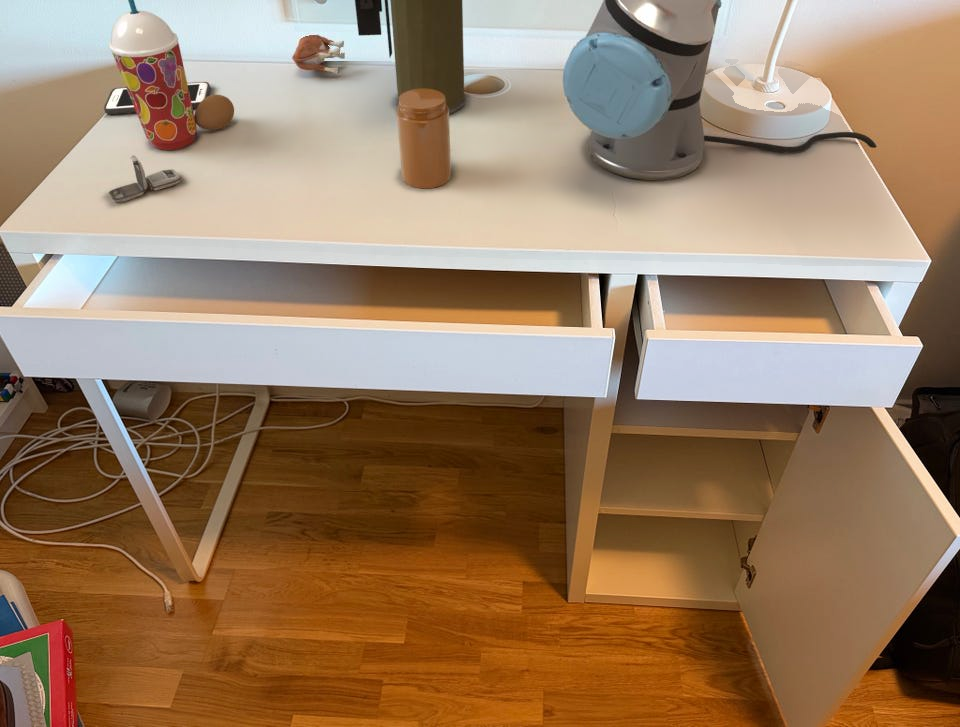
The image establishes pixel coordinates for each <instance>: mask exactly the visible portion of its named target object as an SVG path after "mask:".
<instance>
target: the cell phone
mask: <svg viewBox="0 0 960 727" xmlns="http://www.w3.org/2000/svg"><path fill="white" fill-rule="evenodd" d="M187 84H188V89H189V94H190V99H191V103H192V108H193V109H197V107H198V105H199V104H200V102H201V101H202V100H203V99H205V98H206V97H208V96H210V92H211V85H210V83H209V82H207V81H193V82H187ZM103 110H104V113H105V114H106V115H119V114H120V115H121V114H134V113H136V110H135V108H134V105H133V103H132V100H131V98H130V95H129V93H128V90H127V88H126V86H124V87H123V86H121V87H114V88H112V89H111V90H110V92H109V95H108V97H107V99H106V102H105V103H104V106H103Z"/></svg>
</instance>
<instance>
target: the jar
mask: <svg viewBox="0 0 960 727" xmlns="http://www.w3.org/2000/svg"><path fill="white" fill-rule="evenodd" d="M397 98H398V97H397ZM398 99H399V103H398V104H397V106H398V107H397V108H396V122H397V133H398V145H399V156H400V167H401V179H402V180H403V182H404V183H405V184H406V185H408V186H410V187H413V188H417V189H434V188H438V187H441V186H444V185H445V184H446V183H448V182H449V181H450V180H451V177H452V162H451V161H452V160H451V159H452V158H451V137H450V136H451V133H450V132H451V131H450V130H451V129H450V114H449V108H448V106H447V105H446V98H445V96H444V94H443V93H441V92H439V91H437V90H433V89H426V88H422V89H413V90H409V91H407V92H405V93H403V94H402V95H400V97H399V98H398Z"/></svg>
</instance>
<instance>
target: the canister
mask: <svg viewBox="0 0 960 727" xmlns="http://www.w3.org/2000/svg"><path fill="white" fill-rule="evenodd" d="M389 8H390V9H389ZM463 8H464V7H463V0H390V7H389V0H384V11H385V20H386V34H387V45H388V46H387V47H388V55H389V58H391V57H392V55H393V52H394V64H395V66H394V67H395V78H396V90H397V98H396V104H397V105H398V103H399V99H398V98H399V97H400V95H402V94H403V93H405V92H407V91H409V90H413V89H422V88H426V89H433V90H437V91H439V92H441V93H443V94H444V96H445V98H446V105H447V106H448V108H449V115H451V114H453V113H455V112H458V111H459V110H461V109H462V108H463V107H464V106H465V104H466V101H467V97H466V95H465V62H464V60H465V57H464V14H463V13H464V12H463V11H464V10H463ZM390 12H391V13H390ZM390 14H391V20H390ZM390 21H391V23H390ZM391 26H392V32H391ZM392 38H393V44H392Z"/></svg>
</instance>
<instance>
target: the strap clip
mask: <svg viewBox="0 0 960 727" xmlns="http://www.w3.org/2000/svg"><path fill="white" fill-rule="evenodd" d="M130 160H131V161H132V166H133V169H134V174H135V178H136V182H133V183H129V184H127V185H124V186H120V187H116V188H114V189H111V190H109V191H108V194H109V196H110V197H111V198H112V199H113V201H114V202H116V203H120V202H126V201H130V200H132V199H135V198H138V197H141V196H143V195H144V194H145V193H146V191H147V189H148V187H149V189H150V190H151V191H152V190H154V191H159V190H163V189H165V188H169V187H173V186H174V185H176V184H178V183H179V182H181V177H180V175H179V174H178V173H177V172H176V170H175V169H173V168H172V169H171V168H168V169H162V170H159V171H156V172H154V173H151V174H148V175H146V173H145V169H144V167H143V165H142V162H141V161H140V160H139V159H138V157H137V156H136V155H135V154H134V155H131V157H130ZM115 194H121V195H122V196H121V197H118V198H117V197H116V196H115Z"/></svg>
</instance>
